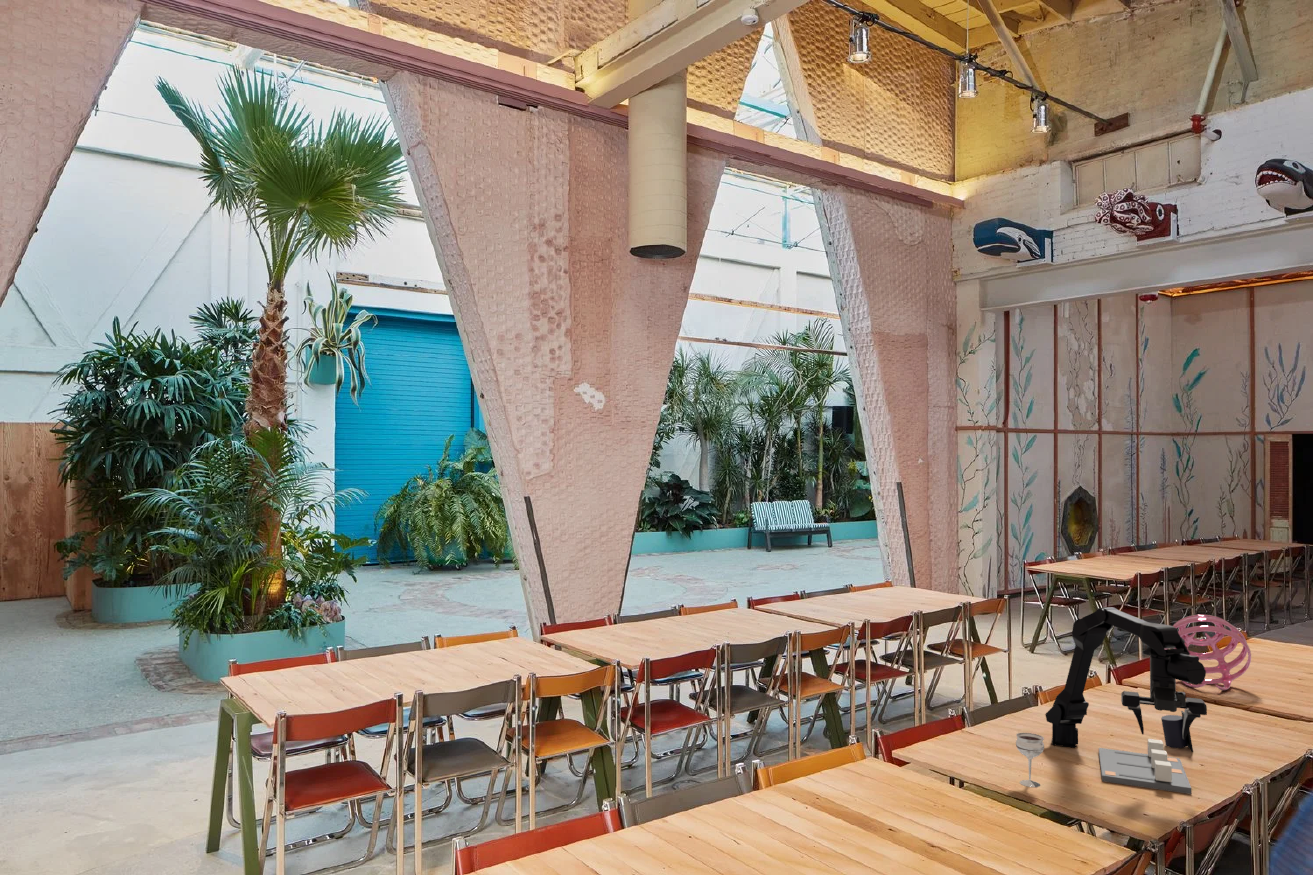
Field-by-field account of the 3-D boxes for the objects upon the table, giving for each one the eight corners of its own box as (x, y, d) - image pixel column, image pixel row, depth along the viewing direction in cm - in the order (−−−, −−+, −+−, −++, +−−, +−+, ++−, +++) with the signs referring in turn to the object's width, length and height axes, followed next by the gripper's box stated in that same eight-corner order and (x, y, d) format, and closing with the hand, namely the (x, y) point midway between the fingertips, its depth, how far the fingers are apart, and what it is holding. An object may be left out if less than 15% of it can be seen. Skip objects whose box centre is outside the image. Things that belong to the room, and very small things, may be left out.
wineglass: (1031, 790, 223) (1031, 742, 223) (1009, 781, 229) (1009, 734, 229) (1050, 785, 226) (1050, 738, 227) (1028, 777, 232) (1028, 731, 233)
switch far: (1148, 756, 244) (1148, 741, 244) (1147, 752, 247) (1147, 738, 247) (1163, 758, 242) (1163, 743, 243) (1162, 754, 246) (1162, 740, 246)
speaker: (1196, 746, 259) (1191, 710, 260) (1193, 752, 255) (1188, 715, 255) (1167, 743, 264) (1162, 708, 264) (1163, 749, 259) (1158, 713, 260)
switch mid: (1152, 767, 235) (1152, 752, 235) (1151, 763, 238) (1151, 748, 238) (1167, 769, 233) (1167, 754, 233) (1166, 765, 236) (1165, 750, 237)
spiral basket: (1247, 647, 308) (1234, 594, 329) (1158, 656, 323) (1150, 605, 344) (1265, 703, 318) (1251, 649, 339) (1178, 710, 333) (1169, 657, 354)
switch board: (1102, 781, 230) (1102, 774, 230) (1098, 752, 253) (1098, 747, 253) (1191, 793, 222) (1191, 787, 222) (1179, 763, 244) (1179, 757, 244)
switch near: (1155, 779, 226) (1155, 764, 226) (1154, 775, 229) (1154, 759, 229) (1171, 782, 224) (1171, 766, 224) (1170, 777, 227) (1170, 762, 228)
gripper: (1123, 677, 224) (1124, 740, 223) (1210, 686, 216) (1210, 750, 216) (1121, 668, 234) (1121, 728, 234) (1203, 676, 226) (1203, 738, 226)
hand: (1163, 736), depth 227 cm, fingers open, 9 cm apart
